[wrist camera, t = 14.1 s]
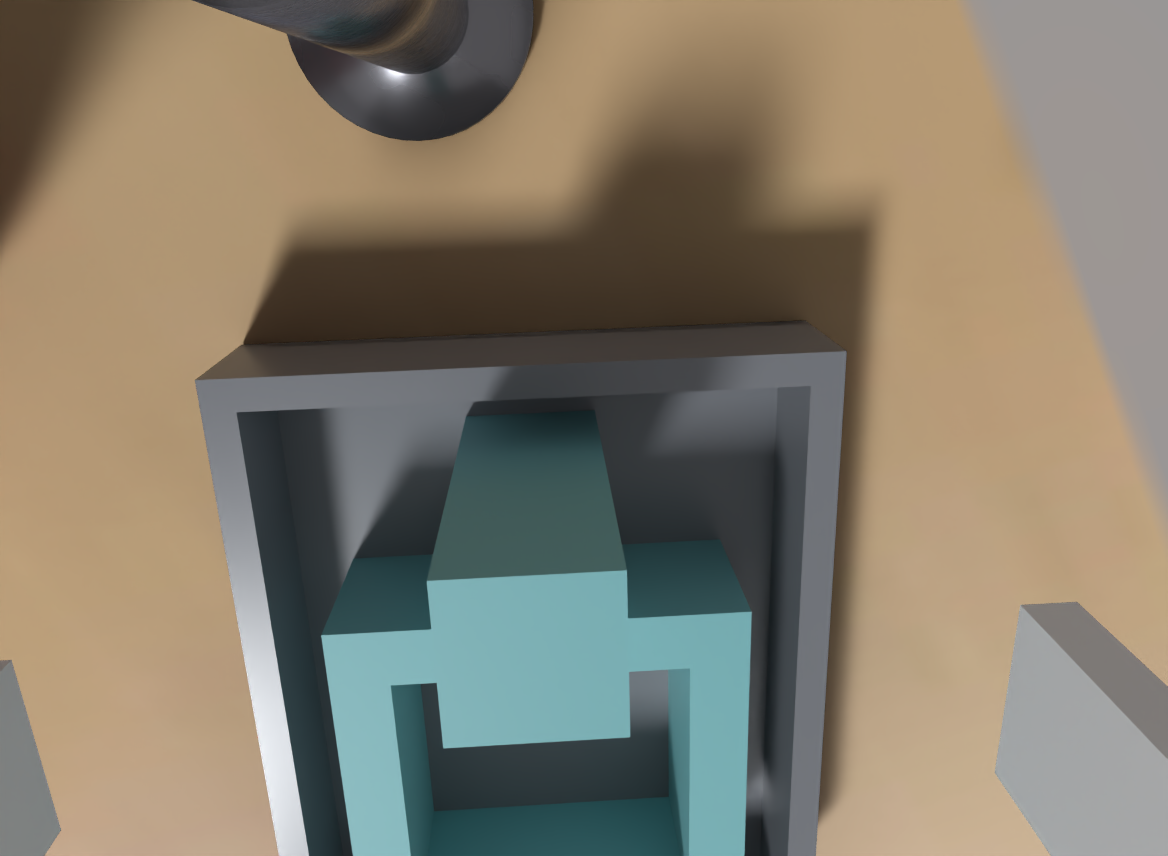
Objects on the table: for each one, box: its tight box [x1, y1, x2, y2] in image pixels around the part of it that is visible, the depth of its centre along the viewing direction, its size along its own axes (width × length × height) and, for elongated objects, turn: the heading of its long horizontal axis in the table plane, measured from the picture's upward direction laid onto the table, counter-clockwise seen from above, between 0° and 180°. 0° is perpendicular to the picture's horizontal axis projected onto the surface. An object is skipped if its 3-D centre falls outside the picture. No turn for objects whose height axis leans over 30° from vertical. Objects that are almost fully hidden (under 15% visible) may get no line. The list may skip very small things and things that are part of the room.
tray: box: [195, 320, 847, 856], centre depth 22 cm, size 16×13×3 cm
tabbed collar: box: [321, 410, 752, 856], centre depth 19 cm, size 12×9×8 cm
